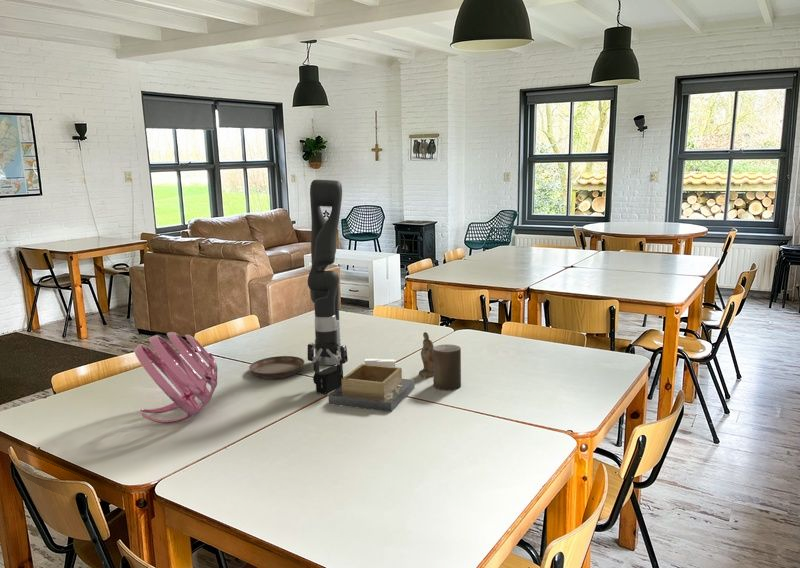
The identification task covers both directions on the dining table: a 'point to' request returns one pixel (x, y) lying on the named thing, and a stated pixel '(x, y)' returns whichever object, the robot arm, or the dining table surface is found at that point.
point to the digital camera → (327, 380)
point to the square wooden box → (372, 388)
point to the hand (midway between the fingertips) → (328, 373)
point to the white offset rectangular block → (381, 362)
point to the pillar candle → (447, 367)
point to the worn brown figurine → (427, 356)
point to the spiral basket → (179, 373)
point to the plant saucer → (277, 366)
